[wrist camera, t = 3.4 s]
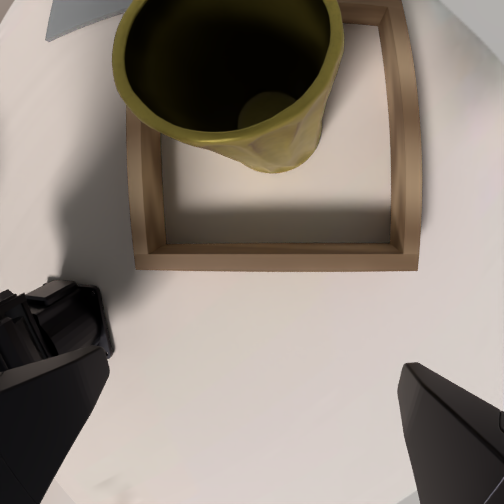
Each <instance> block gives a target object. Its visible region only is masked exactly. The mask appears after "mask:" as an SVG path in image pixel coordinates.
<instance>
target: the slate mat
mask: <svg viewBox="0 0 504 504" xmlns="http://www.w3.org/2000/svg"><path fill="white" fill-rule="evenodd" d="M132 1H133V0H53V3H52V8H51V12H50V17H49V22H48V27H47V33H46V38H45V40H46V41H48V42H50V41H52V40H54V39H56V38H59V37H61V36H63V35H65V34H68V33H70V32H72V31H75V30H77V29H80V28H82V27H85V26H87V25H90V24H92V23H95V22H98V21H100V20H103V19H106V18H109V17H112V16H115V15H118V14H121V13H124V12H126V10H127V9H128V7H129V6H130V4H131V3H132Z"/></svg>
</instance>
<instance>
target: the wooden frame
mask: <svg viewBox="0 0 504 504" xmlns="http://www.w3.org/2000/svg"><path fill="white" fill-rule="evenodd" d="M337 1H338V4H339V8H340V11H341V17H342V23H349V24H363V25H374V26H378V29H379V35H380V42H381V48H382V55H383V63H384V71H385V79H386V89H387V100H388V112H389V127H390V147H391V227H390V243H221V244H166V232H165V219H164V204H163V186H162V165H161V133H160V132H158V131H156V130H154V129H152V128H150V127H149V126H147V125H146V124H144V123H143V122H141V121H140V120H139V119H138V118H137V117H136V116H135V115H134V114H133V113H132V111H131V110H130V109H129V108H128V106H127V105H126V146H127V175H128V193H129V207H130V220H131V231H132V241H133V251H134V259H135V268H136V270H172V271H246V272H368V271H418V261H419V249H420V234H421V212H422V152H421V131H420V117H419V105H418V95H417V86H416V78H415V70H414V63H413V57H412V50H411V45H410V39H409V34H408V28H407V23H406V19H405V14H404V10H403V5H402V1H401V0H337Z"/></svg>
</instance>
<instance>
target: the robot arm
mask: <svg viewBox="0 0 504 504" xmlns="http://www.w3.org/2000/svg"><path fill="white" fill-rule="evenodd" d="M93 291H94V292H95V294H94V293H93ZM106 352H107V353H108V354H107V353H106ZM112 355H113V351H112V347H111V343H110V339H109V334H108V330H107V325H106V320H105V315H104V310H103V305H102V300H101V294H100V290H99V288H98V287H96V286H92V285H77V283H76V282H74V281H61V280H54V281H52V282H47V283H45V284H43V286H41V287H39V288H37V289H36V290H34V291H32V292H30V293H28V294H26V295H25V293H23V294H20V295H18V296H17V294H13V293H12V292H11V291H9V290H6V291H3V292H1V293H0V504H40V503H41V501H42V499H43V497H44V495H45V493H46V491H47V490H48V488H49V486H50V484H51V482H52V480H53V479H54V477H55V475H56V473H57V471H58V470H59V468H60V466H61V464H62V463H63V461H64V459H65V457H66V455H67V454H68V452H69V450H70V448H71V447H72V445H73V443H74V442H75V440H76V438H77V436H78V435H79V433H80V431H81V430H82V428H83V426H84V425H85V423H86V421H87V419H88V418H89V416H90V414H91V413H92V411H93V409H94V407H95V405H96V403H97V400H98V398H99V396H100V394H101V392H102V390H103V387H104V385H105V383H106V381H107V379H108V377H109V373H110V369H109V365H108V361H107V359H109V358H110V357H111V356H112ZM397 392H398V400H399V406H400V412H401V419H402V426H403V432H404V438H405V442H406V446H407V450H408V453H409V457H410V461H411V465H412V469H413V473H414V478H415V482H416V486H417V491H418V495H419V500H420V504H504V412H503V411H500V409H498V408H496V407H494V406H493V405H491V404H489V403H487V402H486V401H484V400H482V399H480V398H479V397H477V396H475V395H473V394H472V393H470V392H468V391H466V390H465V389H463V388H461V387H459V386H458V385H456V384H454V383H452V382H451V381H449V380H447V379H446V378H444V377H442V376H440V375H439V374H437V373H435V372H433V371H432V370H430V369H428V368H427V367H425V366H423V365H421V364H420V363H418V362H414V363H405V364H404V365H403V368H402V372H401V376H400V380H399V384H398V391H397Z"/></svg>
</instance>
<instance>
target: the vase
mask: <svg viewBox="0 0 504 504" xmlns="http://www.w3.org/2000/svg"><path fill="white" fill-rule="evenodd" d="M343 51H344V30H343V23H342V17H341V11H340V8H339V4H338V1H337V0H133V1H132V3H131V4H130V6H129V7H128V9H127V10H126V12H125V13H124V15H123V17H122V19H121V21H120V23H119V26H118V28H117V31H116V35H115V39H114V44H113V51H112V67H113V76H114V81H115V85H116V88H117V91H118V93H119V94H120V96H121V98H122V99H123V101H124V102H125V104H126V105H127V106H128V108H129V109H130V110H131V111H132V113H133V114H134V115H135V116H136V117H137V118H138V119H139V120H140V121H141V122H143V123H144V124H146V125H147V126H149V127H150V128H152V129H154V130H156V131H158V132H160V133H162V134H164V135H166V136H168V137H171V138H173V139H175V140H178V141H180V142H183V143H185V144H188V145H191V146H195V147H199V148H203V149H207V150H211V151H213V152H216V153H218V154H221V155H223V156H226V157H228V158H231V159H233V160H236V161H239V162H241V163H242V164H244V165H246V166H247V167H249V168H251V169H253V170H256V171H259V172H264V173H281V172H286V171H289V170H292V169H294V168H296V167H298V166H300V165H301V164H303V163H304V162H305V161H306V160H307V159H308V158H309V157H310V156H311V155H312V154H313V153H314V151H315V149H316V148H317V145H318V142H319V139H320V135H321V130H322V123H321V119H322V117H323V114H324V110H325V106H326V101H327V98H328V96H329V94H330V91H331V88H332V85H333V82H334V80H335V77H336V75H337V72H338V68H339V65H340V61H341V58H342V55H343Z"/></svg>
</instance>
